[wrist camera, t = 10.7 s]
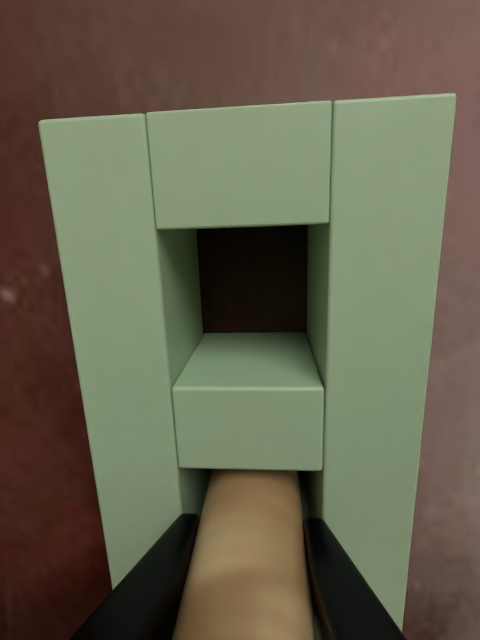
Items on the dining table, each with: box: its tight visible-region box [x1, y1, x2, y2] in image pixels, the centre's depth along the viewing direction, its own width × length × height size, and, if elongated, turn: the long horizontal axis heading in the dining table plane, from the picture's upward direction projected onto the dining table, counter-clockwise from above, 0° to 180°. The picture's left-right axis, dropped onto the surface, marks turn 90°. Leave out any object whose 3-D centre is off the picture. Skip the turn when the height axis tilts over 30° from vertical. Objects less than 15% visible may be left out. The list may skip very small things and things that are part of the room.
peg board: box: [38, 93, 456, 632], centre depth 10 cm, size 7×18×4 cm, turn 2°
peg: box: [172, 469, 316, 640], centre depth 6 cm, size 2×2×9 cm
